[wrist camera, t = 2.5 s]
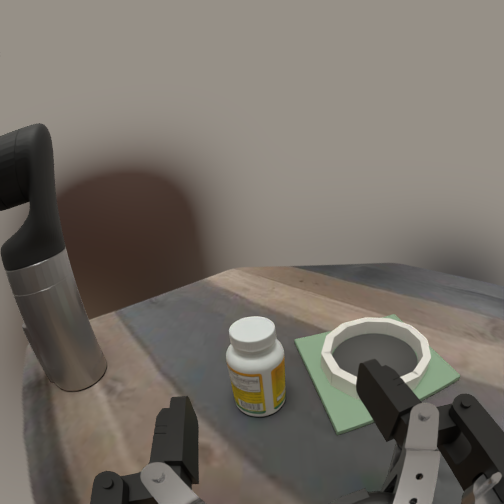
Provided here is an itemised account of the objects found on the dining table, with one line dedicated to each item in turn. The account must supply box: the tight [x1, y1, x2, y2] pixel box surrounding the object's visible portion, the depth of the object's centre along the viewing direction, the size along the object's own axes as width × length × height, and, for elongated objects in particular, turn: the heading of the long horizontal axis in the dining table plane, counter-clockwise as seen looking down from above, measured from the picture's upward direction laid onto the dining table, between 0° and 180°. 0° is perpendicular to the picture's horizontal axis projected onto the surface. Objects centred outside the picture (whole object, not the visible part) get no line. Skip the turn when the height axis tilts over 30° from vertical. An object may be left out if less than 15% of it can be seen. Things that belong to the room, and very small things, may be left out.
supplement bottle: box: [226, 316, 286, 417], centre depth 24 cm, size 5×5×10 cm
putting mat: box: [294, 314, 460, 435], centre depth 28 cm, size 16×16×3 cm
